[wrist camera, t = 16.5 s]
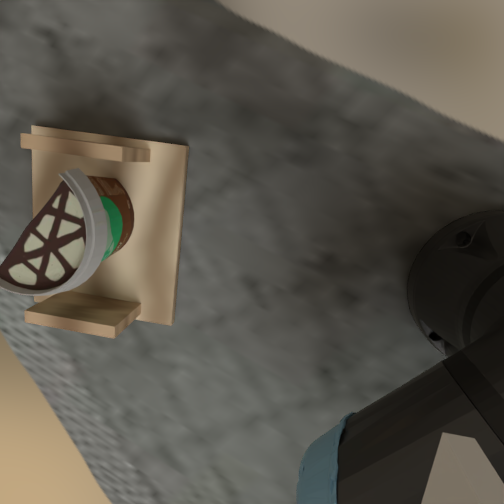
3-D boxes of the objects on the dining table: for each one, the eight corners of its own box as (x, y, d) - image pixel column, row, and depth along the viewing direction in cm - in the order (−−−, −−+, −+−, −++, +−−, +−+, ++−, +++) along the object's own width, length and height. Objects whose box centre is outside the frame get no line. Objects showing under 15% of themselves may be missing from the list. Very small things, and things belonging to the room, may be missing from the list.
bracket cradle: (189, 146, 37) (164, 142, 30) (174, 322, 41) (149, 352, 35) (38, 126, 38) (-19, 117, 31) (40, 298, 43) (-9, 323, 36)
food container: (100, 291, 40) (38, 331, 31) (57, 253, 40) (-20, 281, 30) (170, 209, 37) (125, 225, 28) (124, 167, 37) (62, 168, 27)
